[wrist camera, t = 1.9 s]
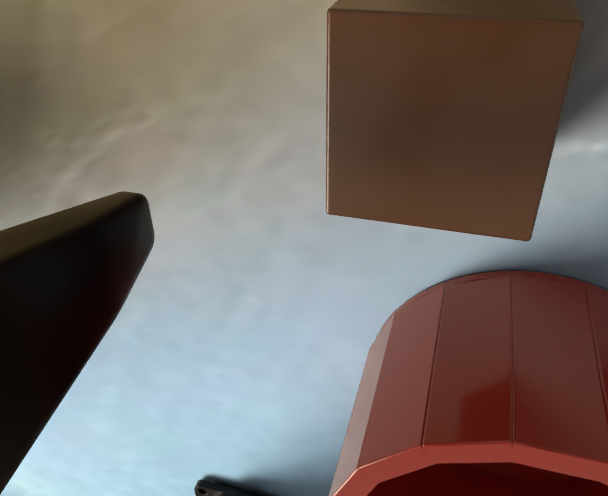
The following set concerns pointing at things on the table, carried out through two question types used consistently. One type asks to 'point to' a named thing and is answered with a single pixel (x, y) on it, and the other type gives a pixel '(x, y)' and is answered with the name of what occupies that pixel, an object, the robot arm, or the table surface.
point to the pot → (484, 393)
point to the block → (446, 110)
